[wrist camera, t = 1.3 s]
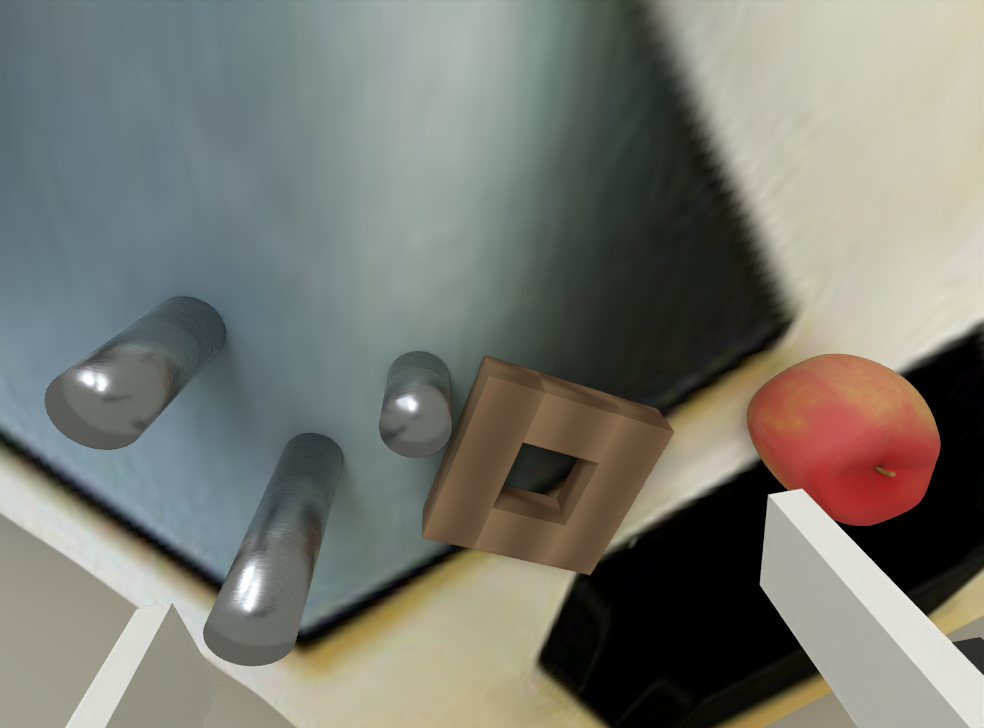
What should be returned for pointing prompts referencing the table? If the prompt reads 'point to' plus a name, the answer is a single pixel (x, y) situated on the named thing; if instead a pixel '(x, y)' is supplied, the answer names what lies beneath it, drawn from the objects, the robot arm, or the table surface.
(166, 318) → the medium pin
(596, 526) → the socket plate
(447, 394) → the short pin
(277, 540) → the tall pin
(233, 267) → the table surface
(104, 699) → the robot arm
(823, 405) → the apple
